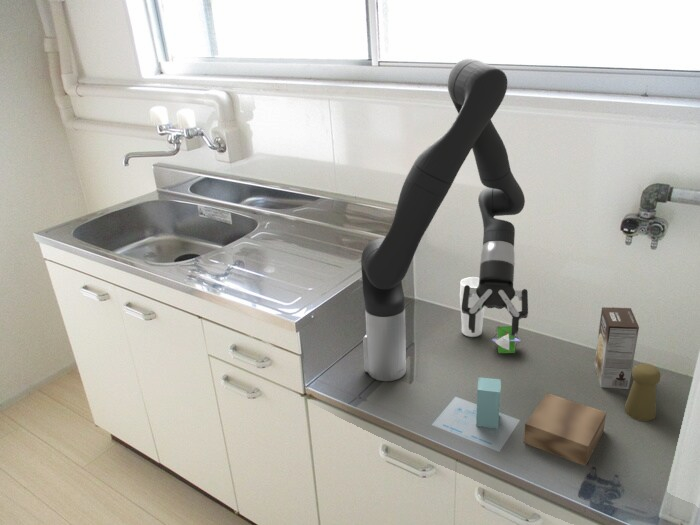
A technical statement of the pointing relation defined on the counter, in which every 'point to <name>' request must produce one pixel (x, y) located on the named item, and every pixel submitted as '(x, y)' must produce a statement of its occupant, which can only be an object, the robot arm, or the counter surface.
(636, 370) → the cork
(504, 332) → the geometric puzzle
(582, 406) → the walnut block
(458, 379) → the counter surface
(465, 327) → the drinking glass
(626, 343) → the coffee box
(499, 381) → the teal block
